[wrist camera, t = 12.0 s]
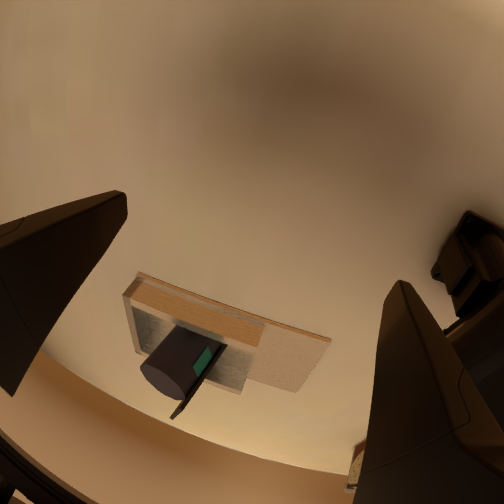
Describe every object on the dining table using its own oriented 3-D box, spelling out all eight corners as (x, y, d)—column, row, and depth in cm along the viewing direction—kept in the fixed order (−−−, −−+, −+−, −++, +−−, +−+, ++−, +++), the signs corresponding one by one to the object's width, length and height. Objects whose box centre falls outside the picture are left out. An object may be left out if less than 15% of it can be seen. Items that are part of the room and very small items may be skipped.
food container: (378, 450, 46) (371, 495, 38) (351, 446, 47) (342, 492, 39) (413, 430, 38) (409, 484, 31) (383, 426, 39) (376, 482, 32)
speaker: (244, 350, 34) (202, 423, 26) (215, 358, 37) (174, 421, 29) (199, 304, 32) (144, 375, 24) (174, 317, 36) (123, 379, 28)
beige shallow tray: (331, 339, 30) (326, 366, 27) (296, 390, 38) (291, 412, 35) (138, 272, 32) (121, 292, 30) (147, 335, 40) (136, 353, 38)
